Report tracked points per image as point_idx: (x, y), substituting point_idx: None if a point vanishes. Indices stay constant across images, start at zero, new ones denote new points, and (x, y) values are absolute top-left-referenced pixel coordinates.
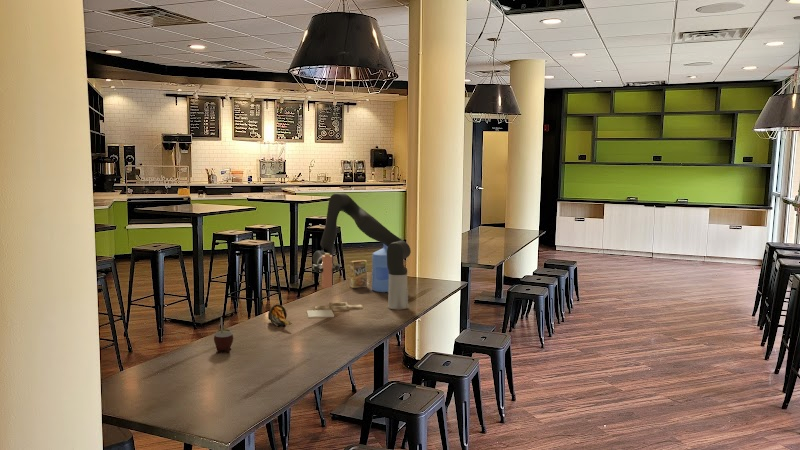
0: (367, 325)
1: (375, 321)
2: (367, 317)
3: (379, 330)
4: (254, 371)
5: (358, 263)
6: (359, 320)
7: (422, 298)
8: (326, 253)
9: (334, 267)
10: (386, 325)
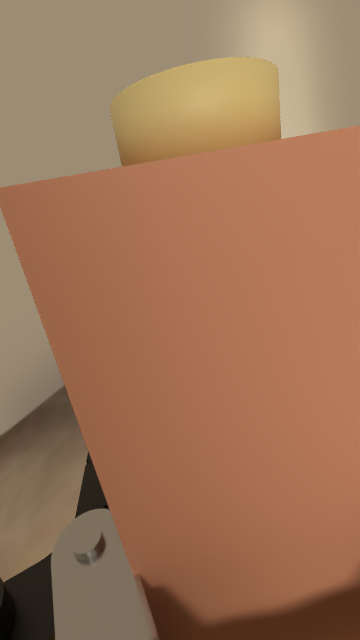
0: (68, 448)
1: (14, 501)
2: (13, 573)
3: (54, 412)
4: None
5: None
6: (74, 508)
7: None
8: (228, 67)
9: (81, 495)
10: (5, 456)
